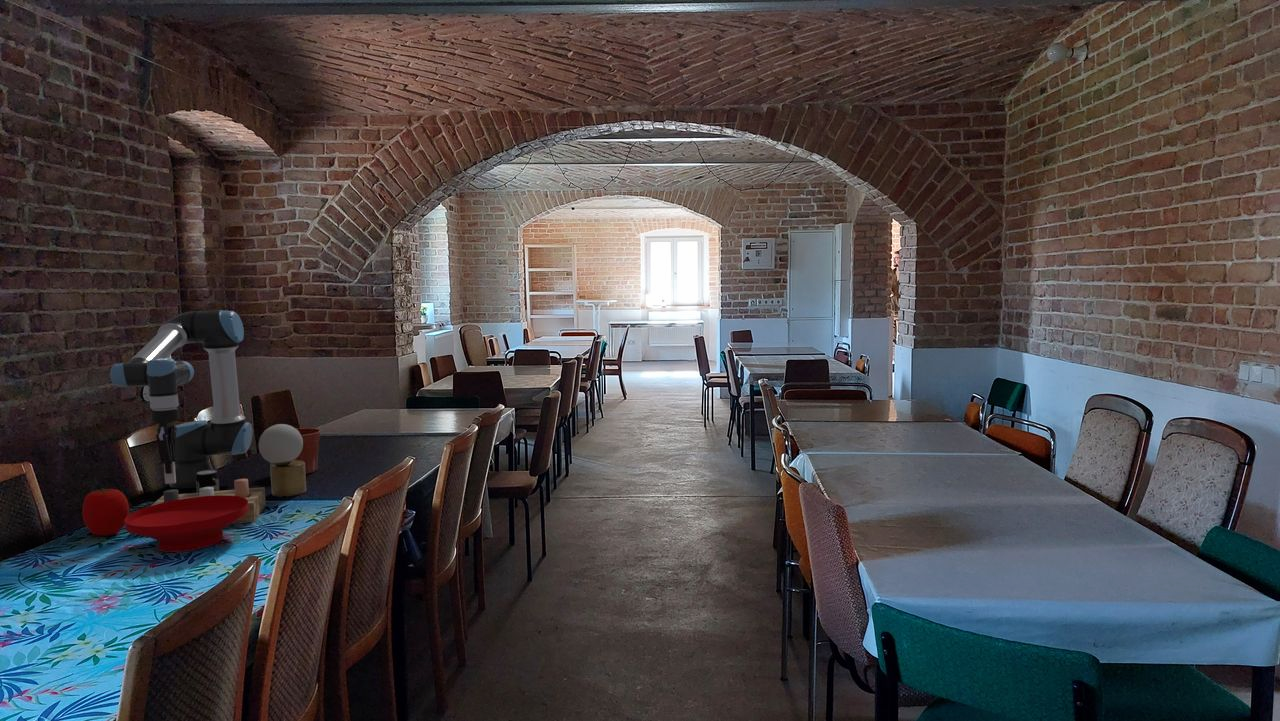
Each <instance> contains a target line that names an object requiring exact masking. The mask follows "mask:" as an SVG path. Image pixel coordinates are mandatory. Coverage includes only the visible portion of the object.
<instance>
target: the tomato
mask: <svg viewBox="0 0 1280 721" xmlns="http://www.w3.org/2000/svg"><path fill="white" fill-rule="evenodd" d="M81 510H82V512H81V513H82V514H81V515H82V519H83V522H84V524H85V526H86V528H87V529H88V531H89V532H90V533H91V534H93V535H96V536H101V537H105V536H106V537H107V536H113V535H115V534H117V533H119V531H121V530H122V529H123V528H124V526H125V521H124V520H125V518H126V517H127V516H128V515H130V506H129V501H128V498H127V497H126V496H125V494H124V493H123V491H120V490H119V489H115V488H104V487H100V489H95V490H93V491H90V493H87V495H86V496H85V498H84V499H83V503H82V509H81Z"/></svg>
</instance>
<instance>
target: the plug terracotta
mask: <svg viewBox="0 0 1280 721" xmlns="http://www.w3.org/2000/svg"><path fill="white" fill-rule="evenodd" d="M233 484H234V490H235V496H239V497H243V498H249V479H248V478H238V479H235V480H233Z"/></svg>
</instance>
